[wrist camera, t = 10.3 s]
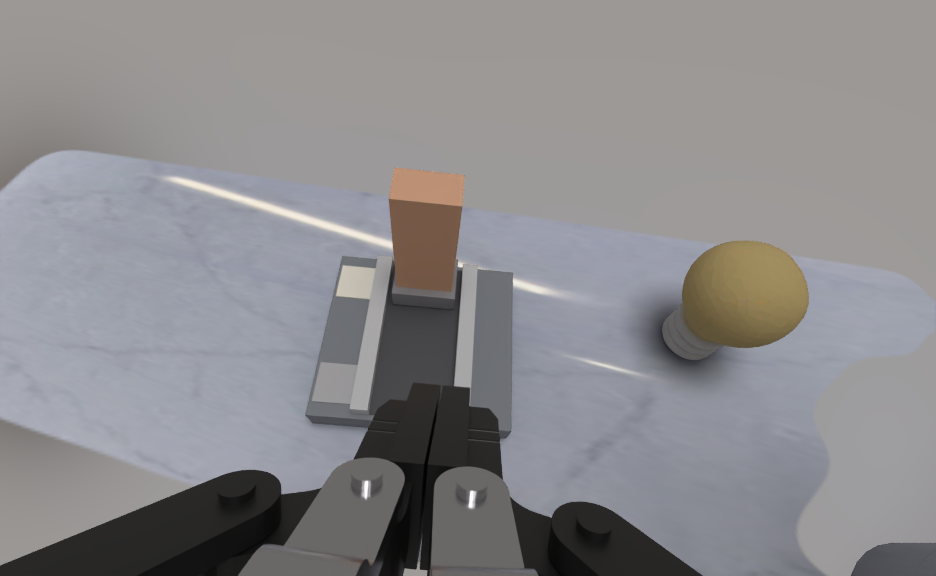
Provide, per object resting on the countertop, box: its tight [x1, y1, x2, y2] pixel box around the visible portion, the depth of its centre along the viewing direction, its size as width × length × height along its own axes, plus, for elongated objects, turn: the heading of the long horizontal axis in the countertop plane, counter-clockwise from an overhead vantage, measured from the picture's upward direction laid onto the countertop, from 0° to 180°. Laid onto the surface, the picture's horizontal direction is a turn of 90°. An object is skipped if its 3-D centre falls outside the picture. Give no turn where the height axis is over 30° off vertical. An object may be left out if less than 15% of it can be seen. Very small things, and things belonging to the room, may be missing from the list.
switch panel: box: [306, 255, 513, 438], centre depth 30 cm, size 12×11×3 cm
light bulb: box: [662, 241, 809, 360], centre depth 29 cm, size 6×6×10 cm
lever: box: [389, 168, 465, 310], centre depth 26 cm, size 4×3×10 cm
